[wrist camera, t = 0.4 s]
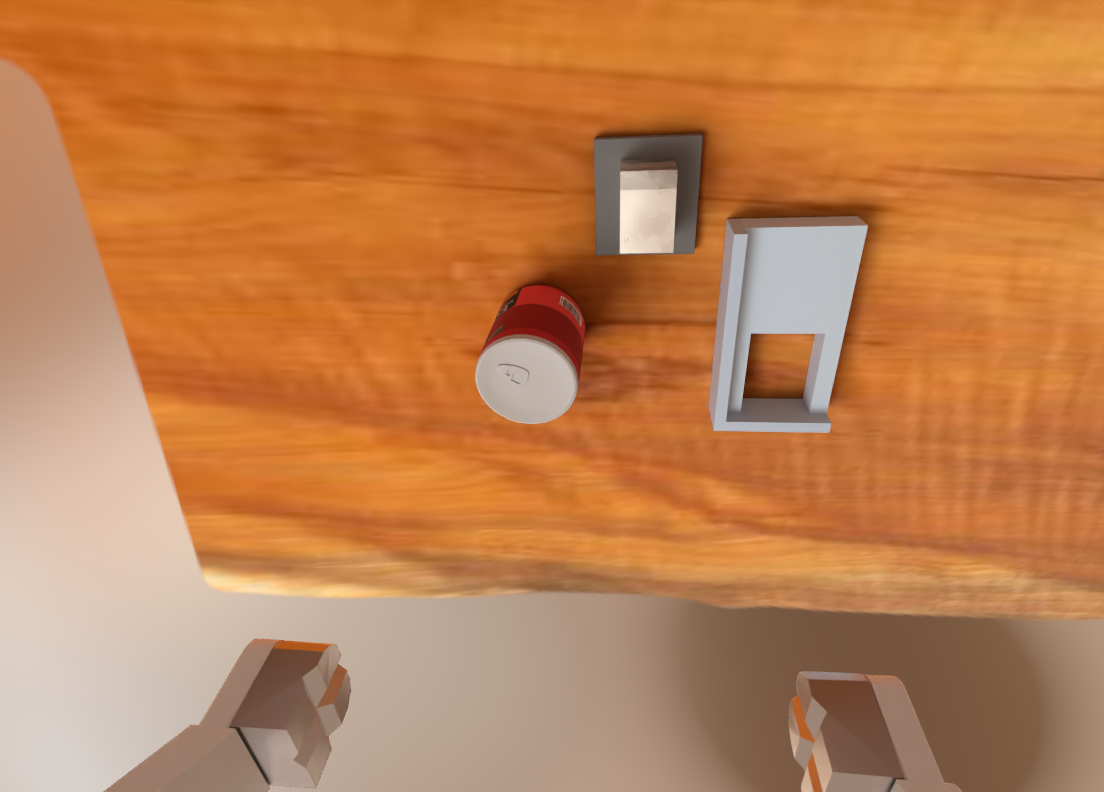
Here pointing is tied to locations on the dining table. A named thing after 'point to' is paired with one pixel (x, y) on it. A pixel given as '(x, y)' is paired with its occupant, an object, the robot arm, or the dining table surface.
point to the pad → (646, 147)
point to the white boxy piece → (647, 205)
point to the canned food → (532, 356)
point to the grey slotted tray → (783, 313)
